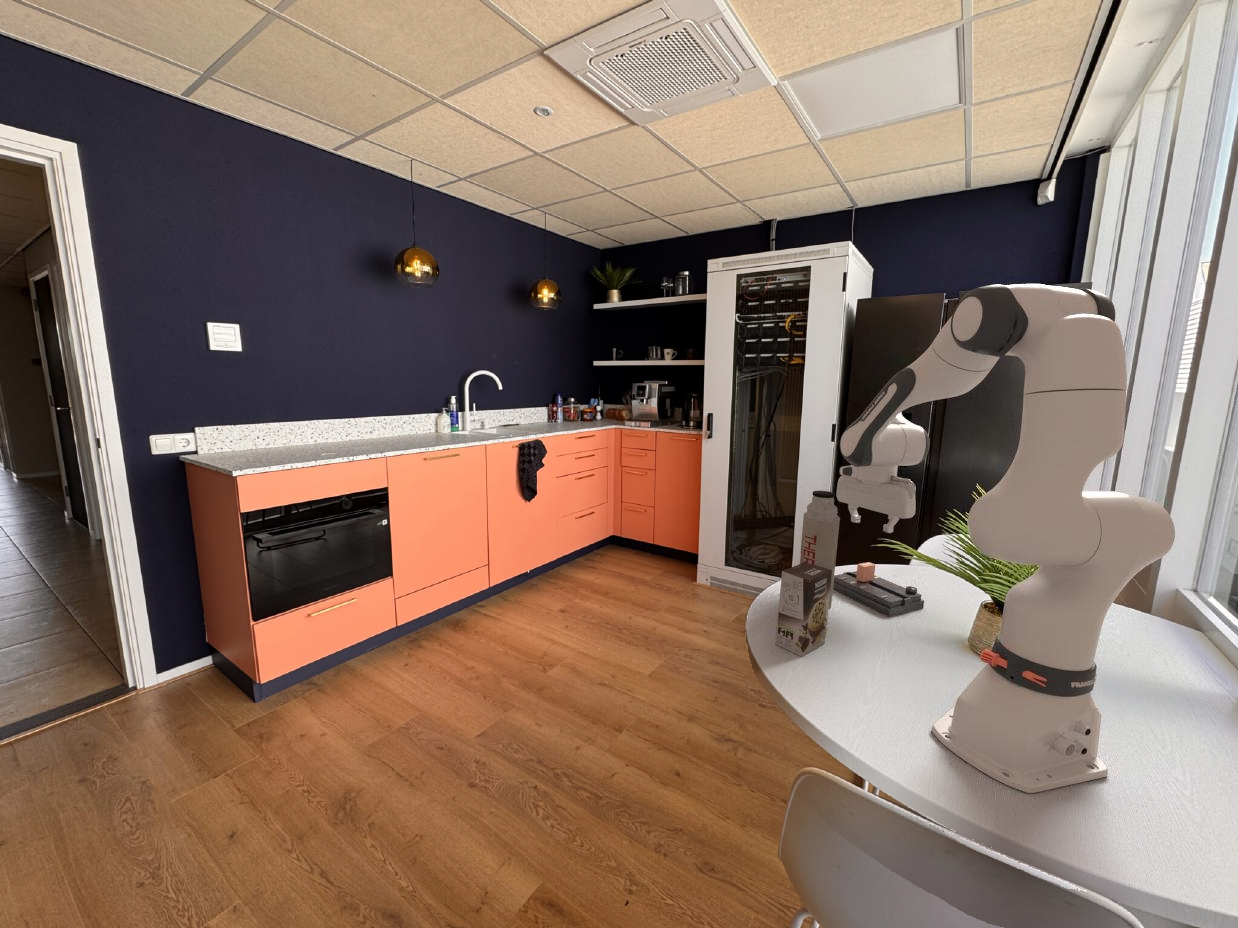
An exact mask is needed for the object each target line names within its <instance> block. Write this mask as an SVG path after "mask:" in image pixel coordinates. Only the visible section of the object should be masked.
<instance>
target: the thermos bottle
mask: <svg viewBox="0 0 1238 928" xmlns="http://www.w3.org/2000/svg"><path fill="white" fill-rule="evenodd" d="M835 493H836V492H835ZM835 493H834V492H833V491H828V490H813V491H812V497H811V502H809V503H808V504H807V506H806V512H804V513H803V517H802V519H803V520H802V529H801V531H802V532H801V542H800V543H801V544H800V558H799V559H800V560H799V564H802V563H804V562H806V563H809V564H812V565H817V566H820V567H824V568H827V569H830V570H832V578H831V588H830V598H829V608H828V611H829V610H830V609H831V608H832V605H833V592H834V590H833V583H834V575H835V572H836V562H837V550H838V542H839V541H838V539H839V531H840V520H841V517H840V516H839V515H838V514H839V512H838V507H837V506H836V505H835V497H836V494H835Z"/></svg>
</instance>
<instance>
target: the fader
mask: <svg viewBox="0 0 1238 928" xmlns="http://www.w3.org/2000/svg"><path fill="white" fill-rule="evenodd" d="M856 571H857V576H856V579H857V580H859V581H862V582H865V583H868V584H870V580H874V575H875V572H876V564H875V563H872V562H870V561H868V562H862V563H858V564H857V569H856Z"/></svg>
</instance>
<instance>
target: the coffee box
mask: <svg viewBox="0 0 1238 928" xmlns="http://www.w3.org/2000/svg"><path fill="white" fill-rule="evenodd" d="M831 578H832V570H830V569H827V568H824V567H820V566H817V565H812V564H809V563H806V562H804V563H802V564H800V563H799V564H797V565H794V566H791V567H789V568H786V569H783V570H781V580H780V590H779V591H780V592H779V603H778V613H777V614H778V615H777V625H776V636H775V645H777V646H778V647H781V648H783V649H785V650H787V651H789V652H792V653H793V654H795V655H797V656H799V657H803V656H806V655H807V654H809V653H810V652H812V651H814V650H816V649H817V648H819V647H821V646H822V645H824V644H825V643H826V637H827V629H828V618H829V617H828V616H829V610H828V608H829V598H830V588H831Z"/></svg>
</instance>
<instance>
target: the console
mask: <svg viewBox="0 0 1238 928" xmlns="http://www.w3.org/2000/svg"><path fill="white" fill-rule="evenodd" d="M856 576H857V570H856V571H846V572H842V573H841V574H836V575H835V574H834V583H833V592H835V593H838V594H841V595H842V596H845V597H847V598H849V599H850V600H853V601H854V602H857V603H858V604H860V605H862V606H865V607H867V608H869V609H870V610H873V611H875V612H878V613H880V614H881V615H884V616H886V617H888V618H891V617H895V616H899V615H904V614H907V613H910V612H915V611H918V610H919V611H920V610H923V609H924V606H925V600H923V599H922V594H920V593H918V588H917V587H916V586H911V585H909V586H906V587H905V586H901V585H899V584H896V583H894V582H891V581H889V580H887V579H885V578H882V577H880V576H879V575H875V574H874V580H870V584H868V583H865V582H862V581H859V580H857V579H856Z"/></svg>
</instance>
